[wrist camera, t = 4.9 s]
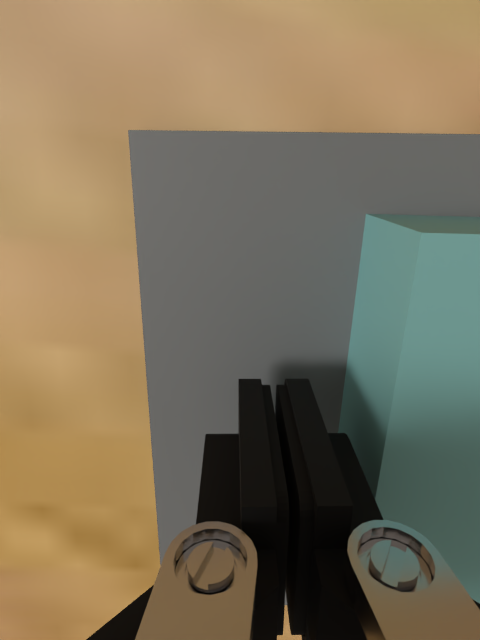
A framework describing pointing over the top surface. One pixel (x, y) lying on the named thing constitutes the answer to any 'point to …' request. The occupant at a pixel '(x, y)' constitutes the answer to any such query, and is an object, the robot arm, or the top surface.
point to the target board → (263, 269)
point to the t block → (420, 380)
